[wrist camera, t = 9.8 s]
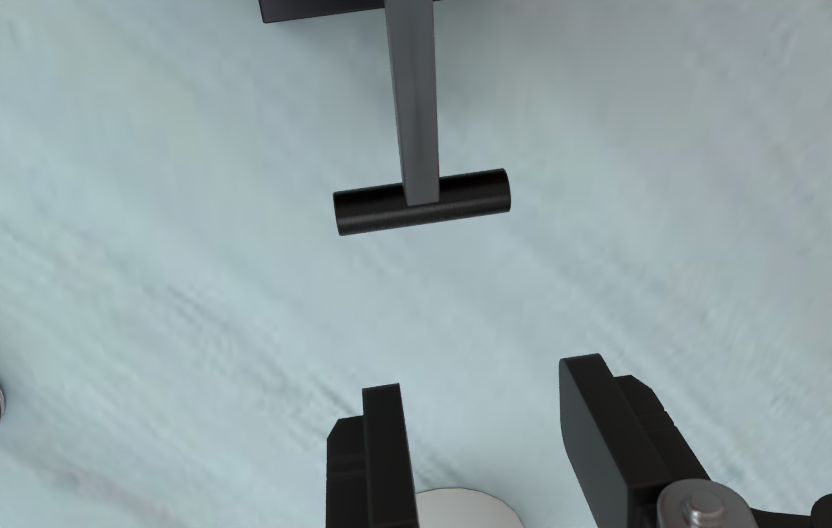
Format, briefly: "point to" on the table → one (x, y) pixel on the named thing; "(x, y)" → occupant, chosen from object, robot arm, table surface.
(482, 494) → the cylinder with rectangular tab
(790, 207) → the table surface
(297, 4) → the lever bracket
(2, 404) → the supplement bottle
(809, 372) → the table surface
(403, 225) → the lever
